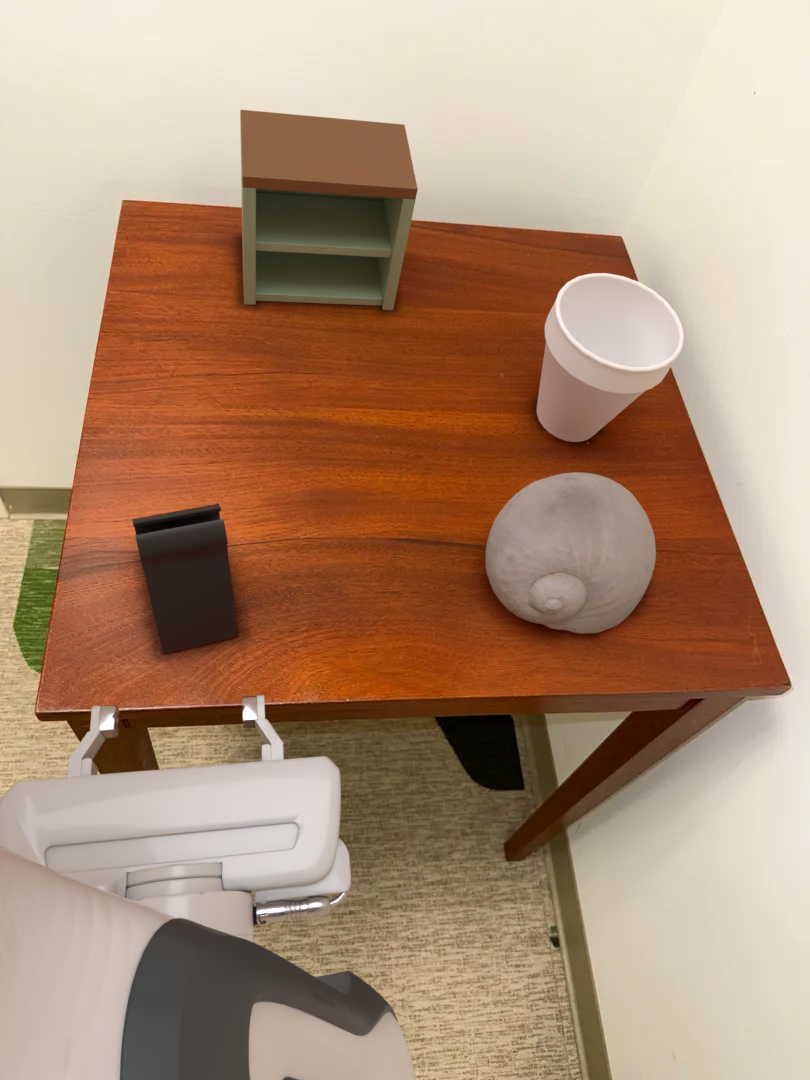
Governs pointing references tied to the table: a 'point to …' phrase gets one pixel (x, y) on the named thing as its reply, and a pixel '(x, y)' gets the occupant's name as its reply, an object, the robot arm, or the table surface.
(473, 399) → the table surface
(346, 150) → the shelf
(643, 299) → the cup
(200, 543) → the phone stand
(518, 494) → the seashell
